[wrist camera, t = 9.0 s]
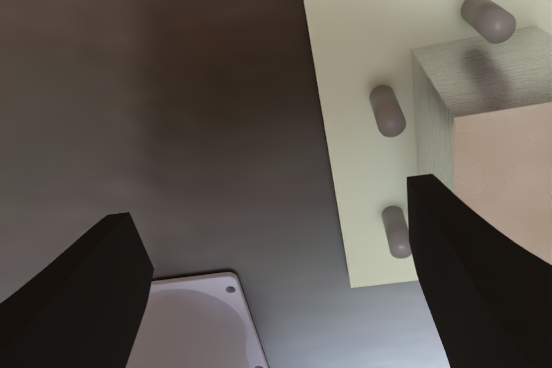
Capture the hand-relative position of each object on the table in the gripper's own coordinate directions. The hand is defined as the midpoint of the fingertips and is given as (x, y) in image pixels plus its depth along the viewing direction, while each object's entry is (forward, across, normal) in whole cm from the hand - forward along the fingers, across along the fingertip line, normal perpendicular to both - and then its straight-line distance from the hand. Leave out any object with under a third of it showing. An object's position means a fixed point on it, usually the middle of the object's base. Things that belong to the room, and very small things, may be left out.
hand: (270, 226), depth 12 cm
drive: (+8, -8, +3) cm, 12 cm away
